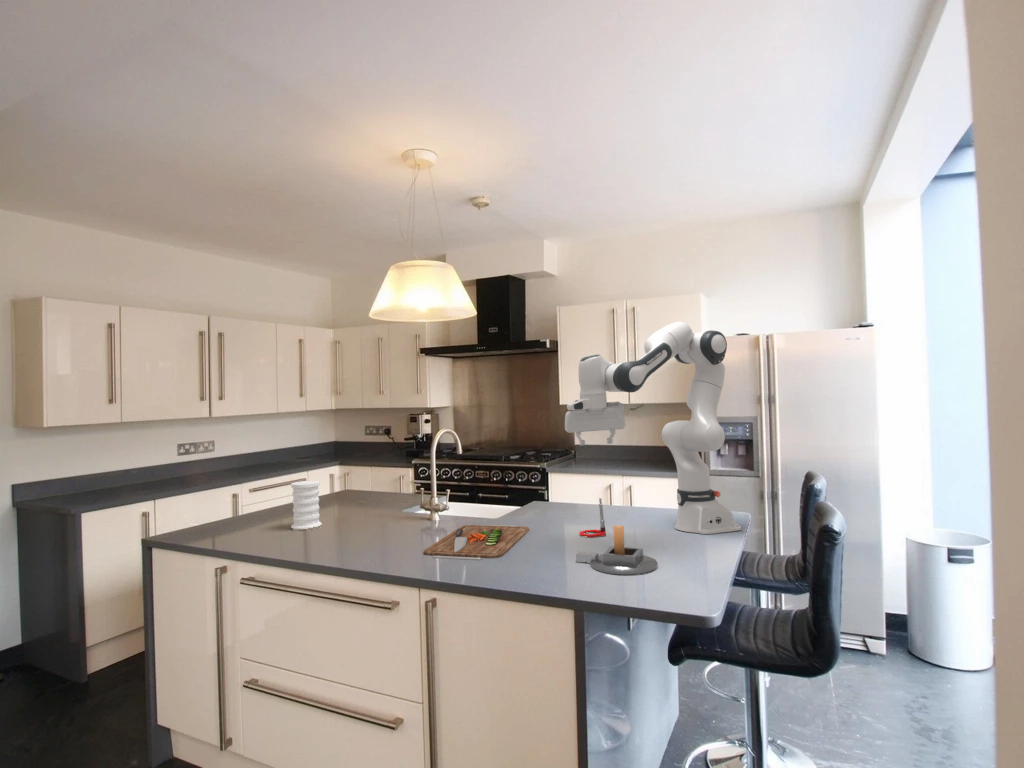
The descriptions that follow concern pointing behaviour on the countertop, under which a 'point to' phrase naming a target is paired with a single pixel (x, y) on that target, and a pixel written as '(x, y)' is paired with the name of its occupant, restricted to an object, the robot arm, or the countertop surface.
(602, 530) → the tow hook
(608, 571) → the grey peg holder base
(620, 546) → the orange wooden block
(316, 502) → the decorative container
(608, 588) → the countertop surface
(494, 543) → the chopping board
